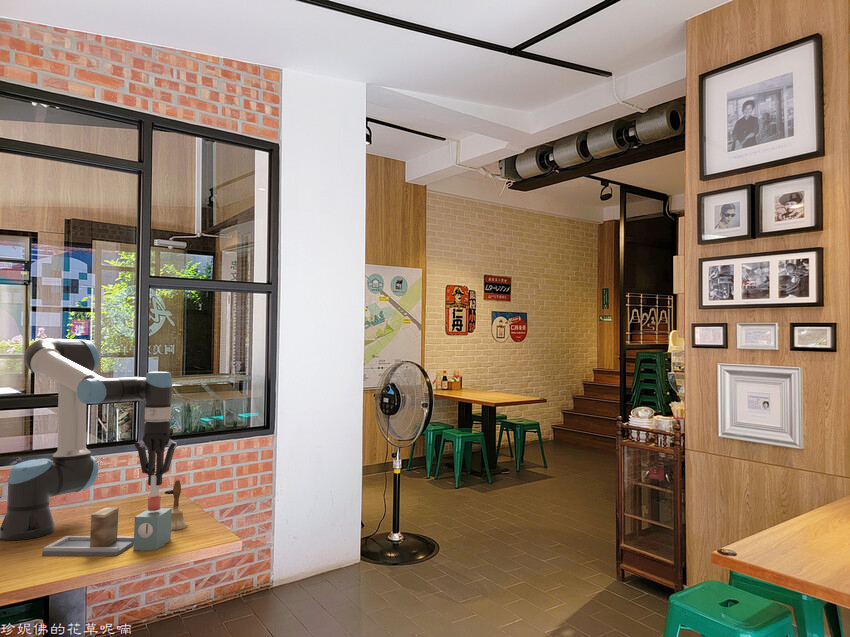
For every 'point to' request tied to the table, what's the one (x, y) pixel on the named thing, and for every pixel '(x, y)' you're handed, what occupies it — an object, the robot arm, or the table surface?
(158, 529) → the cabinet
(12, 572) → the table surface
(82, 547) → the track
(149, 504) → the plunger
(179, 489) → the hand bell
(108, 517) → the tan rectangular block
